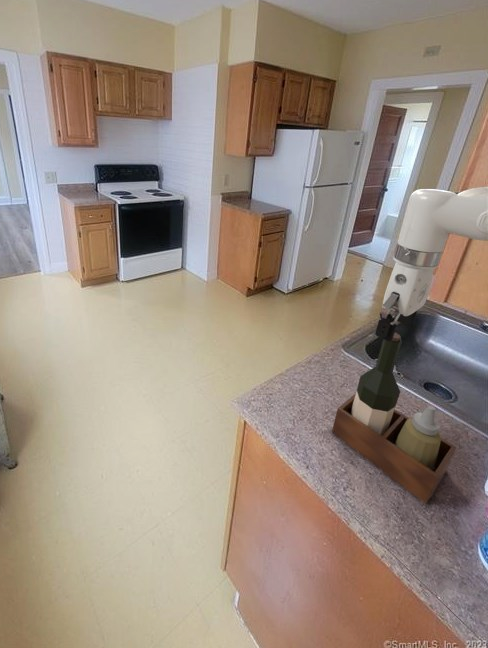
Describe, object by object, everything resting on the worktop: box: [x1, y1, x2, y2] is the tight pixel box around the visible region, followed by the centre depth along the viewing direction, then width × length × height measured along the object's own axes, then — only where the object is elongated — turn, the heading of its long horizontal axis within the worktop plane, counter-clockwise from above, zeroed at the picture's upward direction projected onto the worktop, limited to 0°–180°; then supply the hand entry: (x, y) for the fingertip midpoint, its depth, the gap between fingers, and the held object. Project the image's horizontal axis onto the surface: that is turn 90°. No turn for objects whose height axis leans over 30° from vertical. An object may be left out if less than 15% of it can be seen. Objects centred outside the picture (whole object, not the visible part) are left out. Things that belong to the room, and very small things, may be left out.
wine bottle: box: [350, 332, 403, 436], centre depth 74 cm, size 8×8×30 cm
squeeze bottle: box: [394, 405, 442, 472], centre depth 69 cm, size 8×8×18 cm
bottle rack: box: [331, 392, 458, 504], centre depth 75 cm, size 21×11×8 cm, turn 38°
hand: (393, 330), depth 68 cm, fingers open, 9 cm apart
